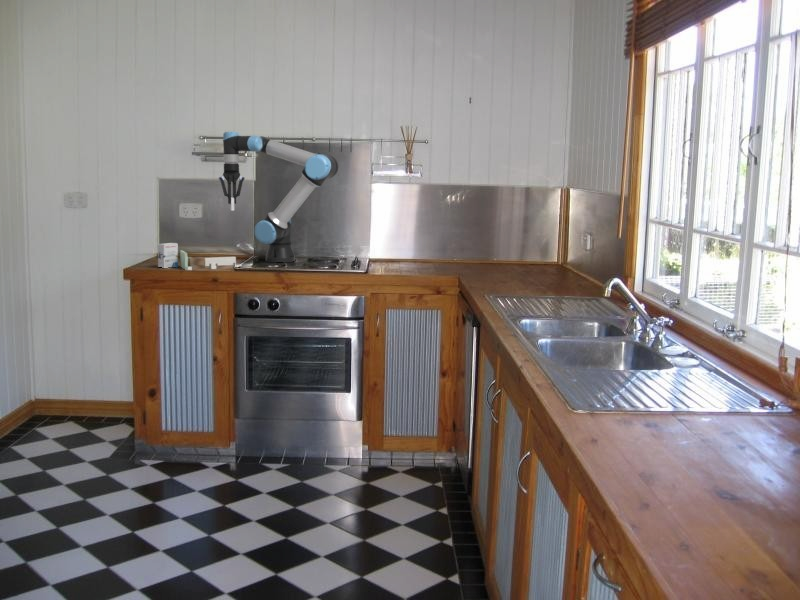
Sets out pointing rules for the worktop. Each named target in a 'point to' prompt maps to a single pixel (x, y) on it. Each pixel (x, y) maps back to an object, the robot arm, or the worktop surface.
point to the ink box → (168, 255)
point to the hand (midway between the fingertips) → (232, 210)
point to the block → (196, 262)
